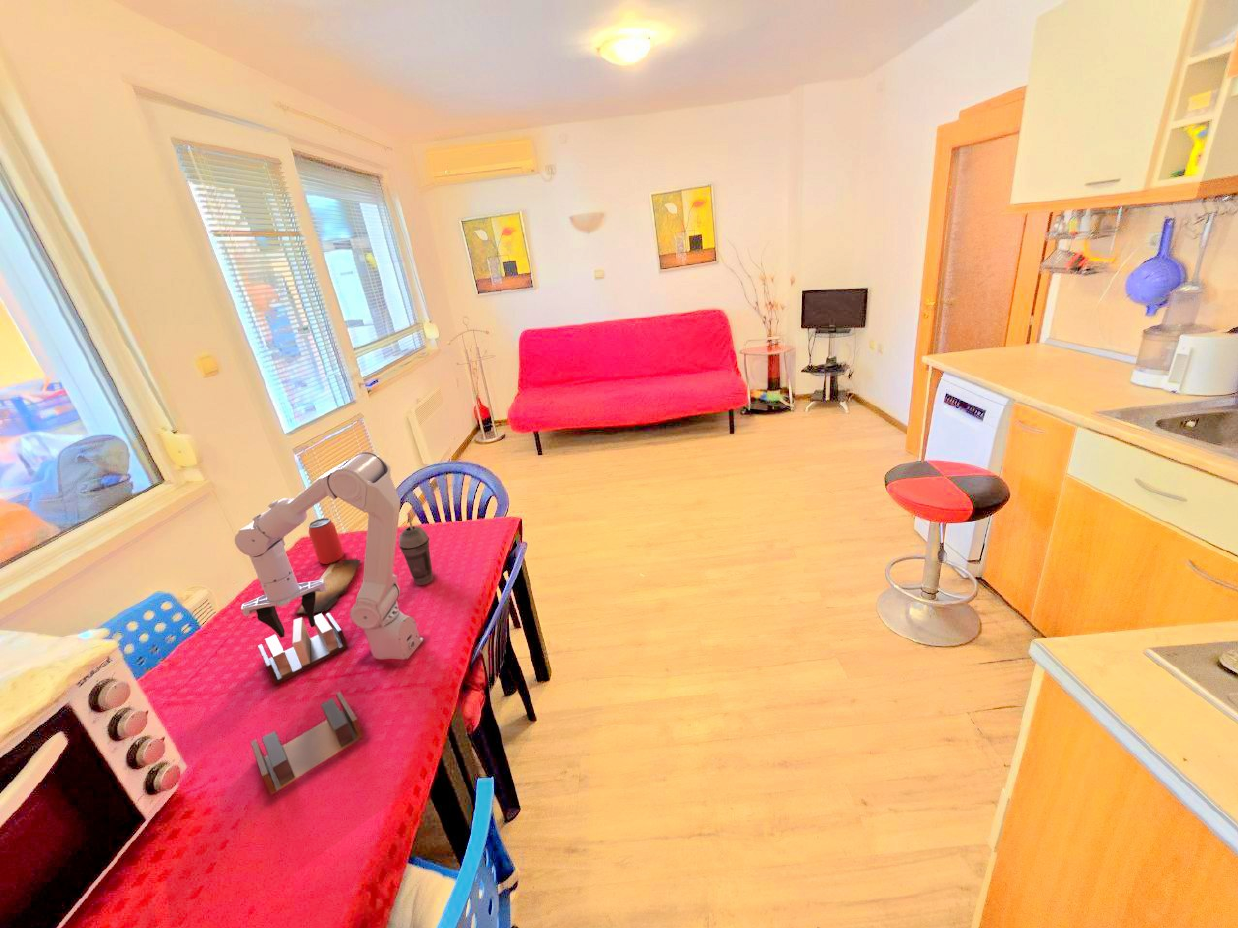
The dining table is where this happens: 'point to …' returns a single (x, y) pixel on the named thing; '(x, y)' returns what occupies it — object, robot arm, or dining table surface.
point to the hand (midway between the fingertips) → (298, 629)
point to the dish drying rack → (320, 650)
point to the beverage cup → (417, 553)
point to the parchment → (334, 584)
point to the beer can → (325, 541)
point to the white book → (301, 641)
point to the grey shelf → (307, 746)
